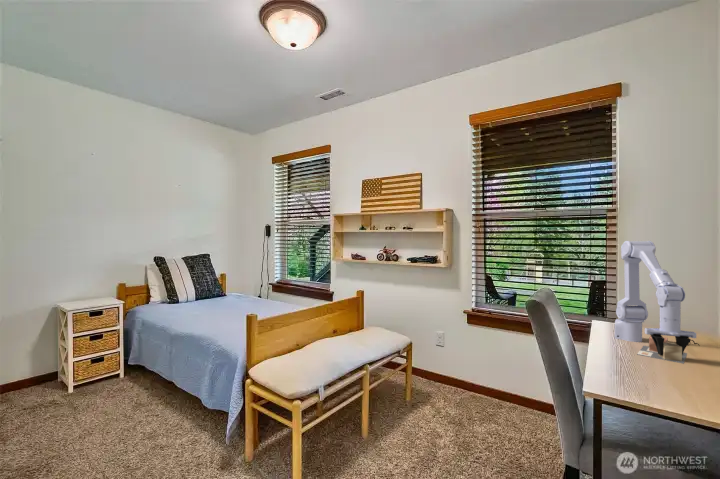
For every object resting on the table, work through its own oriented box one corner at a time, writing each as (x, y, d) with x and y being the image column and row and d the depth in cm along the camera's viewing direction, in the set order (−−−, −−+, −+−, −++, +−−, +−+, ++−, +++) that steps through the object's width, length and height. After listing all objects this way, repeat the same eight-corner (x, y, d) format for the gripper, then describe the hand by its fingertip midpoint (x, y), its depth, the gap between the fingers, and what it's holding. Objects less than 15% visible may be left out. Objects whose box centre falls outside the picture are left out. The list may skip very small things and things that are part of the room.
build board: (636, 356, 130) (636, 354, 130) (643, 347, 141) (643, 345, 141) (683, 365, 121) (683, 363, 121) (687, 355, 132) (687, 353, 132)
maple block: (664, 359, 125) (664, 345, 125) (658, 354, 130) (658, 341, 130) (681, 361, 123) (682, 347, 123) (674, 356, 128) (674, 343, 128)
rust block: (649, 350, 135) (649, 337, 135) (651, 347, 139) (651, 335, 138) (666, 353, 131) (666, 340, 131) (667, 350, 135) (667, 338, 135)
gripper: (650, 319, 125) (650, 356, 125) (701, 322, 120) (701, 361, 120) (642, 315, 132) (642, 350, 132) (690, 318, 127) (689, 355, 127)
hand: (669, 355), depth 127 cm, fingers closed on maple block, 5 cm apart
